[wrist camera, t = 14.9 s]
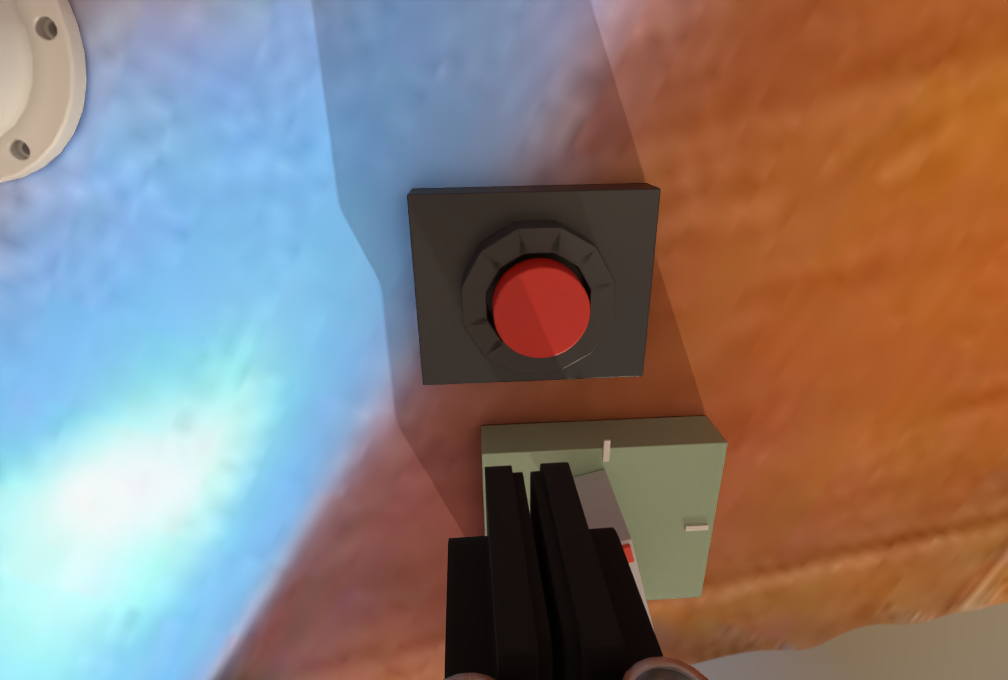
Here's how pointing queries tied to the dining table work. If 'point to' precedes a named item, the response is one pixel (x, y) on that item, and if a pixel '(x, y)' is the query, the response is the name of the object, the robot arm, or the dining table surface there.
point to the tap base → (634, 484)
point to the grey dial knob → (607, 517)
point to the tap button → (540, 308)
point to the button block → (520, 236)
